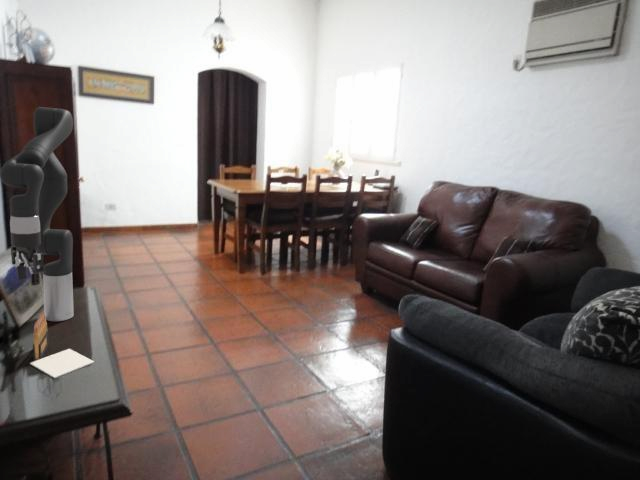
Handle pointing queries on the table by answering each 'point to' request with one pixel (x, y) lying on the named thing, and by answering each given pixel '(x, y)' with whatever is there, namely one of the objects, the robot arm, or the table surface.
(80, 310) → the table surface
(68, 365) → the mat
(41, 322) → the ammunition clip
